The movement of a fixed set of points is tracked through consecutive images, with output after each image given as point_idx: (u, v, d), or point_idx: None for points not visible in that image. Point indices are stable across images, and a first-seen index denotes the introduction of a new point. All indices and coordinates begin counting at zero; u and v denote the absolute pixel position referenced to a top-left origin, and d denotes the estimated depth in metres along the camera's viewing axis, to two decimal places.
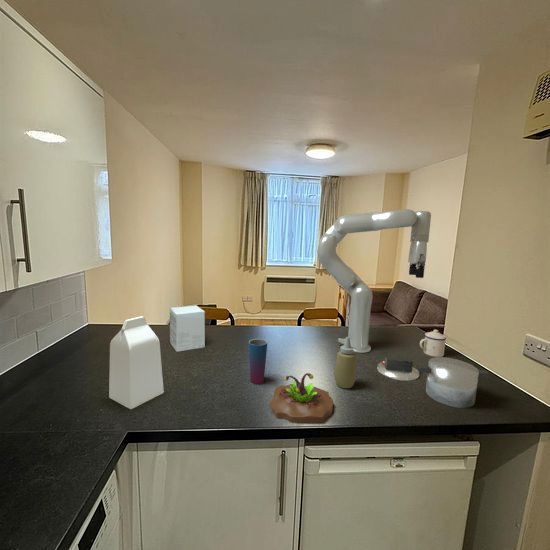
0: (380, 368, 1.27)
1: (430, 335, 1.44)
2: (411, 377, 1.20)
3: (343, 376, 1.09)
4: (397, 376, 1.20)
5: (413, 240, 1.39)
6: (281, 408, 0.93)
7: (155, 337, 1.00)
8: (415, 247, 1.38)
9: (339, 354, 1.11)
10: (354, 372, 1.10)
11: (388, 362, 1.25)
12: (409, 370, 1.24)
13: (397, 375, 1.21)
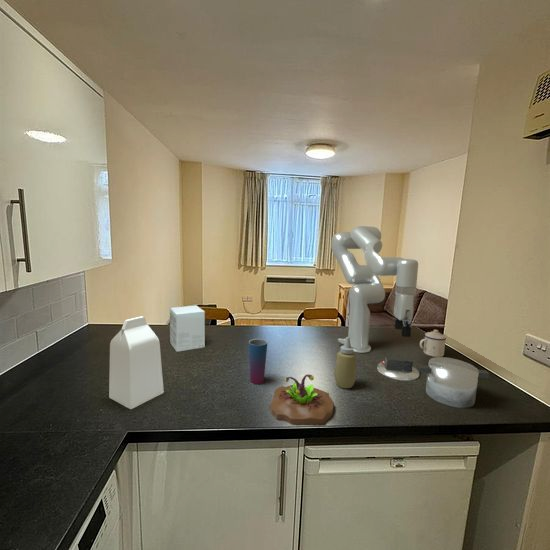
0: (380, 368, 1.27)
1: (430, 335, 1.44)
2: (411, 377, 1.20)
3: (343, 376, 1.09)
4: (397, 376, 1.20)
5: (398, 293, 1.20)
6: (281, 410, 0.92)
7: (155, 337, 1.00)
8: (400, 301, 1.19)
9: (339, 354, 1.11)
10: (354, 372, 1.10)
11: (388, 362, 1.25)
12: (409, 370, 1.24)
13: (397, 375, 1.21)
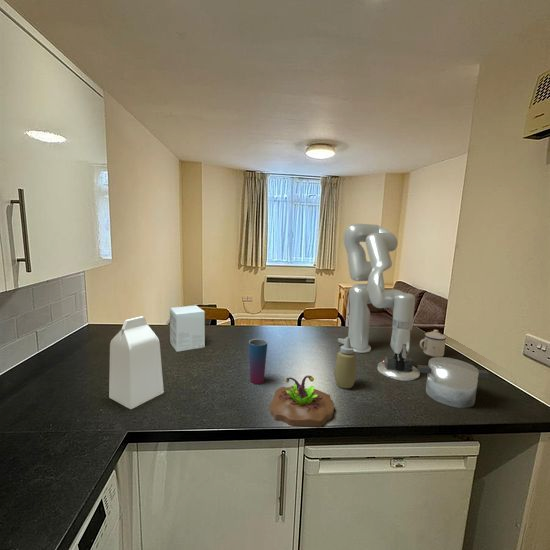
0: (380, 367, 1.26)
1: (430, 335, 1.44)
2: (411, 376, 1.19)
3: (343, 376, 1.09)
4: (397, 375, 1.20)
5: (395, 326, 1.22)
6: (280, 411, 0.92)
7: (155, 337, 1.00)
8: (397, 335, 1.21)
9: (339, 354, 1.11)
10: (354, 372, 1.10)
11: (388, 361, 1.25)
12: (409, 369, 1.24)
13: (397, 374, 1.21)
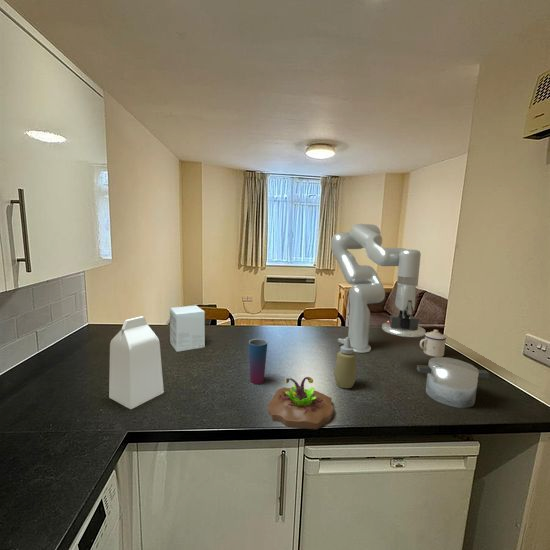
0: (385, 326, 1.24)
1: (430, 335, 1.44)
2: (417, 333, 1.17)
3: (343, 376, 1.09)
4: (402, 332, 1.17)
5: (400, 283, 1.19)
6: (277, 411, 0.92)
7: (155, 337, 1.00)
8: (402, 292, 1.18)
9: (339, 354, 1.11)
10: (354, 372, 1.10)
11: (393, 320, 1.22)
12: (415, 328, 1.21)
13: (402, 331, 1.18)
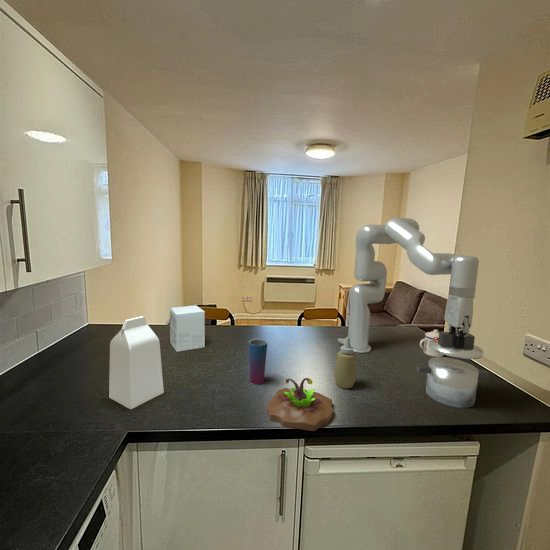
0: (434, 345, 1.06)
1: (430, 335, 1.44)
2: (475, 354, 0.99)
3: (343, 376, 1.09)
4: (458, 353, 0.99)
5: (454, 295, 1.02)
6: (275, 411, 0.91)
7: (155, 337, 1.00)
8: (457, 305, 1.01)
9: (339, 354, 1.11)
10: (354, 372, 1.10)
11: (444, 337, 1.04)
12: (470, 347, 1.04)
13: (457, 352, 1.00)
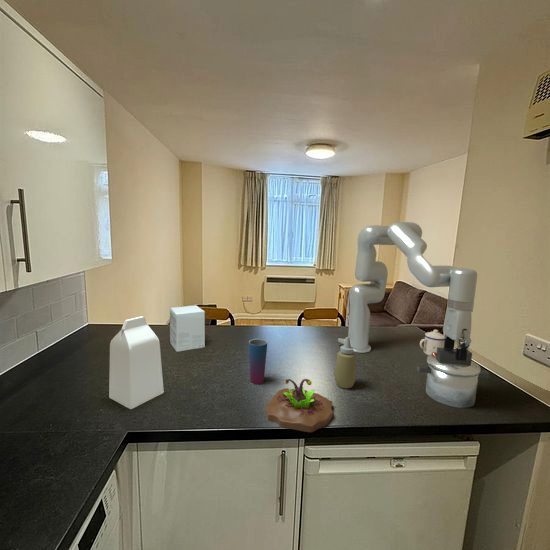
0: (432, 361, 1.07)
1: (430, 335, 1.44)
2: (472, 371, 1.00)
3: (343, 376, 1.09)
4: (455, 370, 1.00)
5: (452, 308, 1.02)
6: (273, 411, 0.91)
7: (155, 337, 1.00)
8: (455, 318, 1.01)
9: (339, 354, 1.11)
10: (354, 372, 1.10)
11: (442, 354, 1.05)
12: (467, 363, 1.05)
13: (455, 369, 1.01)
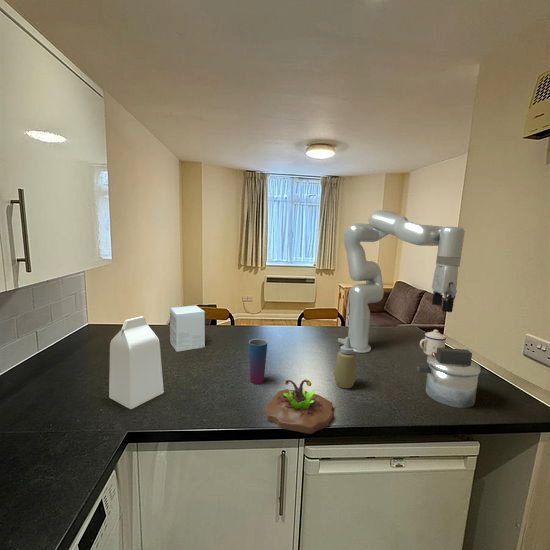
0: (432, 361, 1.07)
1: (430, 335, 1.44)
2: (472, 371, 1.00)
3: (343, 376, 1.09)
4: (455, 370, 1.00)
5: (440, 263, 1.09)
6: (273, 412, 0.91)
7: (155, 337, 1.00)
8: (443, 273, 1.08)
9: (339, 354, 1.11)
10: (354, 372, 1.10)
11: (442, 354, 1.05)
12: (467, 363, 1.05)
13: (455, 369, 1.01)
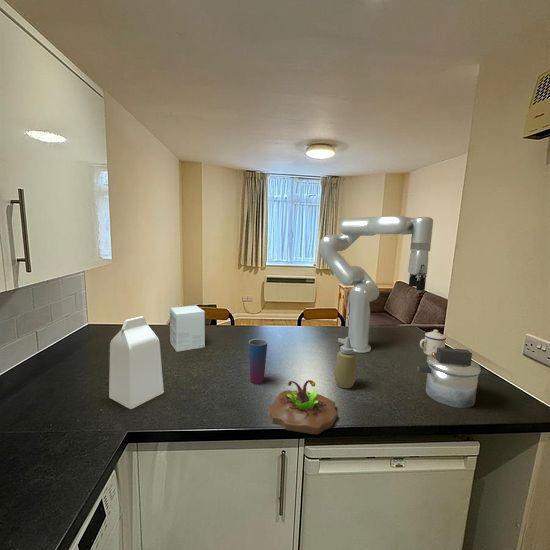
0: (432, 361, 1.07)
1: (430, 335, 1.44)
2: (472, 371, 1.00)
3: (343, 376, 1.09)
4: (455, 370, 1.00)
5: (413, 249, 1.26)
6: (278, 414, 0.90)
7: (155, 337, 1.00)
8: (415, 257, 1.25)
9: (339, 354, 1.11)
10: (354, 372, 1.10)
11: (442, 354, 1.05)
12: (467, 363, 1.05)
13: (455, 369, 1.01)
